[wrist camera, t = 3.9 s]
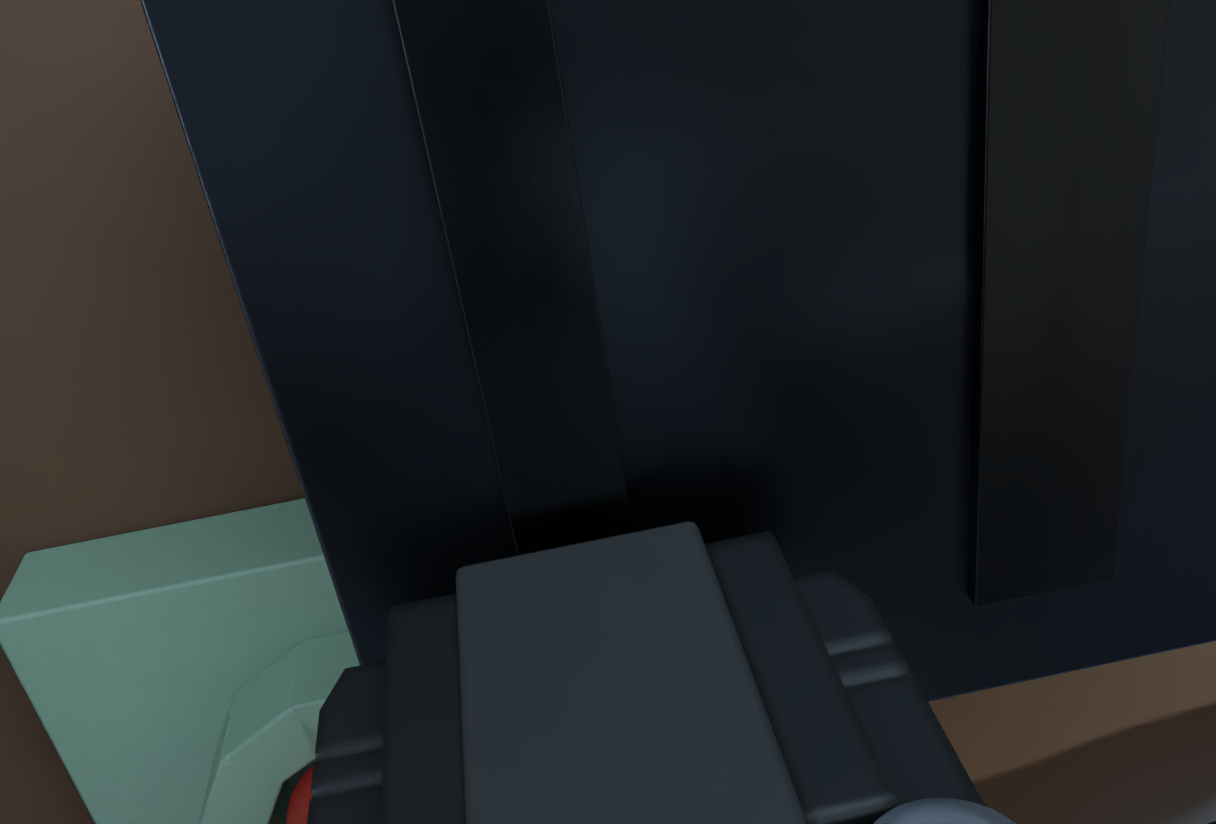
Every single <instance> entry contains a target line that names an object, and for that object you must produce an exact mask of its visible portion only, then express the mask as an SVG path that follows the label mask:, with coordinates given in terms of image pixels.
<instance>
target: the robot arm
mask: <svg viewBox="0 0 1216 824" xmlns="http://www.w3.org/2000/svg"><path fill="white" fill-rule="evenodd" d="M705 546H706V549H707V551H708V554H709V557H710V560H711V562H712V565H713V568H714V570H715V573H716V576H717V578H718V581H719V584H720V587H721V589H722V592H723V595H724V597H725V600H726V603H727V605H728V608H729V611H730V614H731V616H732V619H733V622H734V624H735V627H736V630H737V633H738V635H739V638H740V641H741V643H742V646H743V649H744V651H745V654H746V657H747V660H748V662H749V665H750V668H751V670H752V673H753V676H754V678H755V681H756V684H757V687H758V689H759V692H760V695H761V697H762V700H763V703H764V705H765V708H766V711H767V714H768V716H769V719H770V722H771V724H772V727H773V730H774V733H775V735H776V738H777V741H778V743H779V746H780V749H781V751H782V754H783V757H784V760H785V762H786V765H787V768H788V770H789V773H790V776H791V778H792V781H793V784H794V787H795V789H796V792H797V795H798V797H799V800H800V803H801V805H802V808H803V811H804V814H805V816H806V819H807V822H808V824H1016V823H1014V822H1013V821H1011V820H1010V819H1009V818H1007V817H1006V816H1004V815H1002V814H1000V813H998V812H997V811H995V810H993V809H991V808H989V807H988V806H987V805H986V804H985V803H984V801H983V800H982V798H981V797H980V795H979V794H978V792H977V791H976V789H975V787H974V785H973V783H972V782H971V780H970V778H969V776H968V774H967V772H966V771H965V769H964V767H963V765H962V763H961V761H960V760H959V758H958V756H957V754H956V752H955V751H954V749H953V747H952V745H951V743H950V741H949V740H948V738H947V736H946V734H945V732H944V730H943V729H942V727H941V725H940V723H939V721H938V720H937V718H936V716H935V714H934V712H933V710H932V709H931V707H930V705H929V703H928V701H927V700H926V698H925V696H924V694H923V692H922V690H921V689H920V687H919V685H918V683H917V681H916V679H915V678H914V676H913V674H910V672H909V669H908V665H907V663H906V661H905V659H904V658H903V656H902V654H901V652H900V650H899V648H898V647H897V645H896V643H893V641H892V638H891V634H890V632H889V630H888V628H887V627H886V625H885V623H884V621H883V619H882V618H881V616H880V614H879V612H878V610H877V608H876V607H875V605H874V603H873V601H872V599H871V598H870V597H869V596H868V595H866V594H865V593H864V592H862V591H861V590H860V589H858V588H857V587H855V586H854V585H853V584H851V583H850V582H849V581H847V580H846V579H845V578H843V577H842V576H841V575H839V574H838V573H837V572H835V571H834V570H828V571H823V572H819V573H814V574H809V575H804V576H799V577H793V575H792V573H791V571H790V569H789V566H788V564H787V562H786V560H785V558H784V556H783V554H782V551H781V549H780V547H779V545H778V543H777V541H776V539H775V537H774V535H773V534H772V532H770V531H766V532H761V533H756V534H751V535H746V536H741V537H736V538H731V539H726V540H721V541H716V542H711V543H706V544H705ZM315 757H316V762H314V764H313V773H312V782H311V794H312V799H310V800H309V809H308V818H307V824H465V803H464V778H463V753H462V727H461V702H460V677H459V652H458V627H457V601H456V593H455V594H450V595H445V596H440V597H435V598H430V599H425V600H420V601H415V602H410V603H405V604H400V605H395V606H391V607H390V609H389V615H388V636H387V660H384V661H379V662H374V663H369V664H364V665H359V666H354V667H349V668H345V669H344V671H343V672H342V674H341V676H340V677H339V679H338V681H337V682H336V684H335V686H334V687H333V689H332V691H331V692H330V694H329V696H328V697H327V699H326V700H325V702H324V704H323V705H322V707H321V709H320V711H319V720H318V729H317V737H316V746H315ZM1208 824H1216V821H1215V822H1211V823H1208Z"/></svg>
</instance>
